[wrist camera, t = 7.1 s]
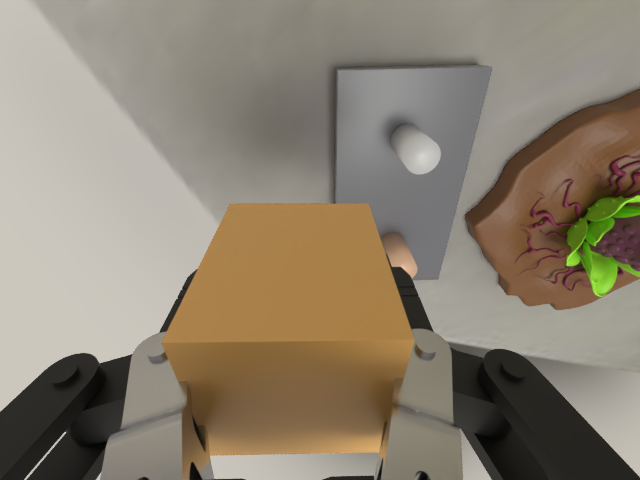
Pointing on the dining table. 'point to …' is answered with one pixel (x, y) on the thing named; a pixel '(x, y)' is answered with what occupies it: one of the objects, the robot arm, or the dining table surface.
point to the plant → (568, 210)
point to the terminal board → (385, 170)
